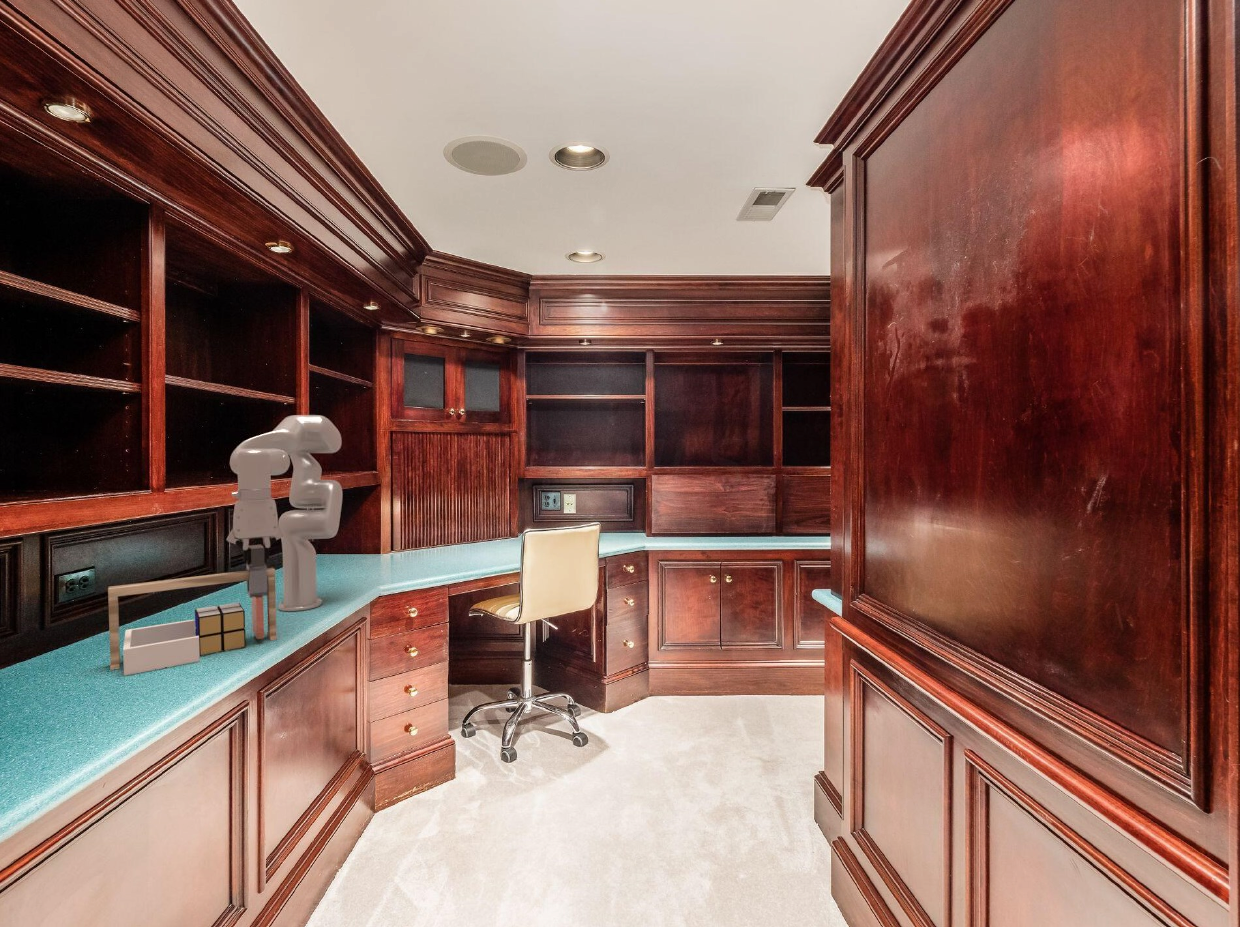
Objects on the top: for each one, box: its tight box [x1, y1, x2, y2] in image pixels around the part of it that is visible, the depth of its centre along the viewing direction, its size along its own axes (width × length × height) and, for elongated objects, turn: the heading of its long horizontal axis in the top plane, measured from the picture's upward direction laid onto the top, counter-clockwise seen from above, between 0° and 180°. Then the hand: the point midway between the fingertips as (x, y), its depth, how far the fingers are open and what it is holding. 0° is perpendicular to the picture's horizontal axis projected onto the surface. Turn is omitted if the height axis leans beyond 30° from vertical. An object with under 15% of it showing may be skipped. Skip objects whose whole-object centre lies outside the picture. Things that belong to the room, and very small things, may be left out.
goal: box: [122, 618, 201, 677], centre depth 146 cm, size 18×14×6 cm
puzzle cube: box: [194, 602, 247, 657], centre depth 154 cm, size 10×10×10 cm
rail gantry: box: [107, 567, 278, 671], centre depth 151 cm, size 6×34×19 cm, turn 129°
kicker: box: [245, 544, 268, 640], centre depth 159 cm, size 9×4×24 cm, turn 39°
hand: (256, 562), depth 158 cm, fingers closed on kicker, 3 cm apart
